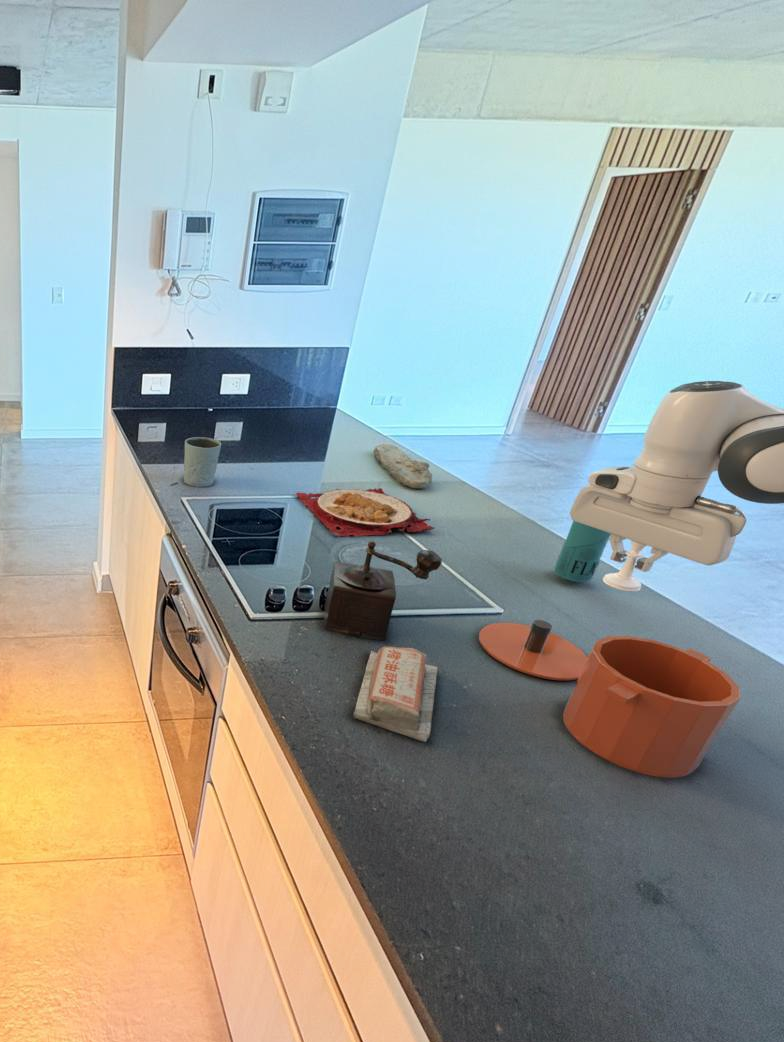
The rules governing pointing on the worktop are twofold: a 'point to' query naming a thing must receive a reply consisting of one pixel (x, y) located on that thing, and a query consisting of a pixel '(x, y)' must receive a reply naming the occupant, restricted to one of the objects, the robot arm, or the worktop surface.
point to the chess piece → (626, 571)
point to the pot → (649, 705)
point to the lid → (533, 650)
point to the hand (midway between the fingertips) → (629, 565)
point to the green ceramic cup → (200, 461)
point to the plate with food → (362, 512)
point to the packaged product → (398, 692)
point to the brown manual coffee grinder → (368, 594)
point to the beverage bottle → (581, 552)
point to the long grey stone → (403, 467)
